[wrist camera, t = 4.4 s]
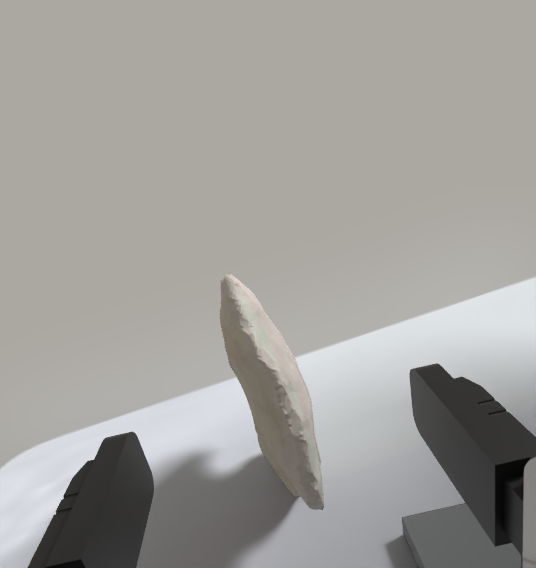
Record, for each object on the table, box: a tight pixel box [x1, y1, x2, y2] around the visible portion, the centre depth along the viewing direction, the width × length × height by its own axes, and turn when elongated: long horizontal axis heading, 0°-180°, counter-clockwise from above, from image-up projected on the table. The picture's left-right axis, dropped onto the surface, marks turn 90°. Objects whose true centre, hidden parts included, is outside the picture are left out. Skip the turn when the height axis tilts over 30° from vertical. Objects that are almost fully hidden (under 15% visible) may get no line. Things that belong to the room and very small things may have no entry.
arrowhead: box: [220, 273, 324, 510], centre depth 14 cm, size 8×3×10 cm, turn 17°
